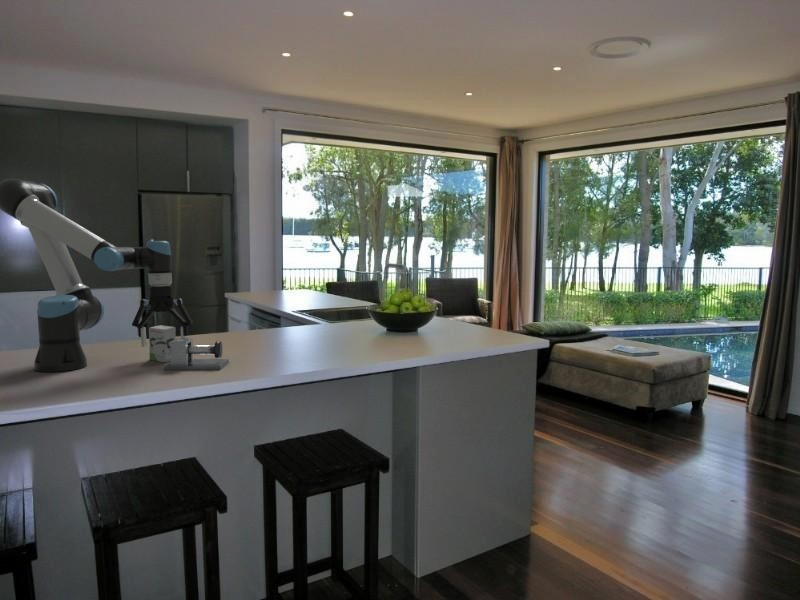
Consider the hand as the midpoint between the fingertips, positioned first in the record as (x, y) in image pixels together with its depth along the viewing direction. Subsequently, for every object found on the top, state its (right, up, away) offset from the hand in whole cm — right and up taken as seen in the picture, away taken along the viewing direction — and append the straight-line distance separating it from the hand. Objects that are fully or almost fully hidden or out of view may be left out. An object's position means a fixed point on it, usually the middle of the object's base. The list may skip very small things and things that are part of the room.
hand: (163, 345), depth 211 cm
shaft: (+15, -3, -10) cm, 18 cm away
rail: (+15, -6, -10) cm, 19 cm away
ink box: (0, -5, 0) cm, 5 cm away
